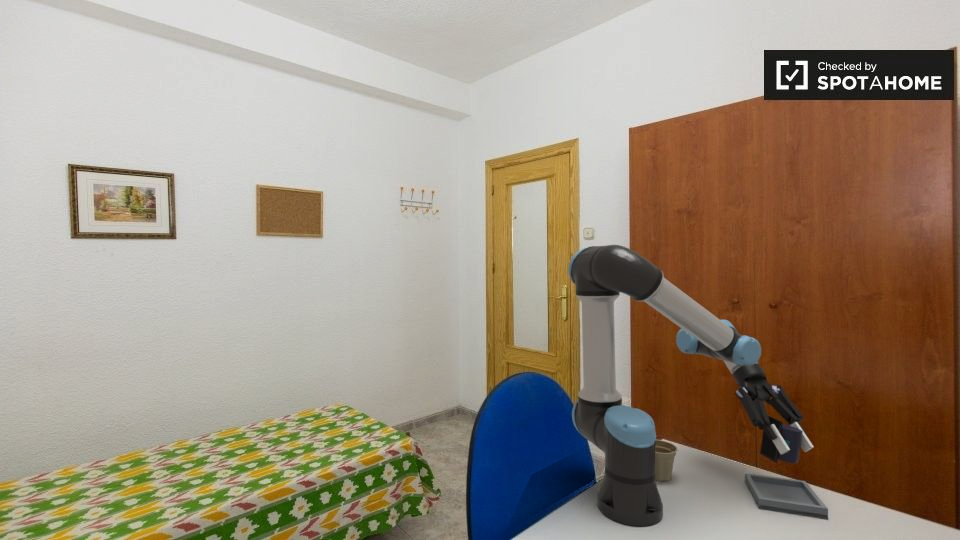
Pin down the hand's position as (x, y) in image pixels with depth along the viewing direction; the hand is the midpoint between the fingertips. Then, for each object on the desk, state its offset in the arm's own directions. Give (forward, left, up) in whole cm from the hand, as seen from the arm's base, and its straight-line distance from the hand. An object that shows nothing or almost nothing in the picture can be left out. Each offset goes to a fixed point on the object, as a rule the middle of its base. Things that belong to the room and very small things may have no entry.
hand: (797, 450), depth 108 cm
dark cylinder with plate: (-2, +3, -4) cm, 5 cm away
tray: (-2, +3, -14) cm, 14 cm away
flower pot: (-31, +6, -14) cm, 35 cm away
